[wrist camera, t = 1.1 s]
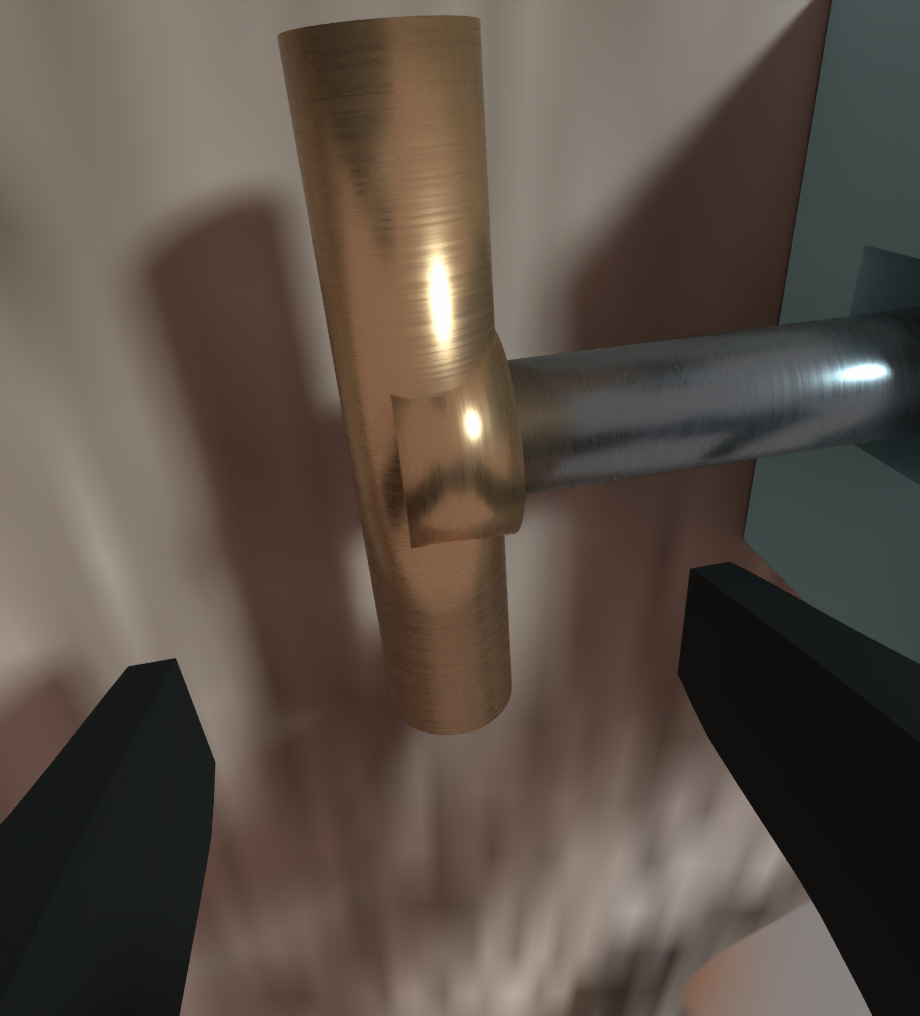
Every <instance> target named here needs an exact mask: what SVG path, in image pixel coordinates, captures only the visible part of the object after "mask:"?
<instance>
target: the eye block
mask: <svg viewBox="0 0 920 1016" xmlns="http://www.w3.org/2000/svg"><path fill="white" fill-rule="evenodd" d="M913 307H920V0H832V4H831V10H830V16H829V23H828V29H827V35H826V41H825V47H824V53H823V59H822V65H821V71H820V77H819V83H818V89H817V95H816V101H815V108H814V114H813V120H812V126H811V132H810V138H809V144H808V150H807V156H806V162H805V168H804V174H803V180H802V186H801V193H800V199H799V205H798V211H797V217H796V223H795V229H794V235H793V241H792V247H791V253H790V259H789V265H788V271H787V278H786V284H785V290H784V296H783V302H782V308H781V314H780V320H779V325H783V324H790V323H798V322H806V321H813V320H821V319H829V318H836V317H844V316H852V315H860V314H867V313H875V312H883V311H890V310H898V309H906V308H913ZM744 540H745V542H746V543H747V544H748V545H749V546H750V547H751V548H752V549H753V550H754V551H755V552H756V553H757V554H758V555H759V556H760V557H761V558H762V559H763V560H764V561H765V562H766V563H767V564H768V565H769V566H770V567H771V568H772V569H773V570H774V571H775V572H776V573H777V574H778V575H779V576H780V577H781V578H782V579H783V580H784V581H785V582H786V583H787V584H788V585H789V586H790V587H791V588H792V589H793V590H794V591H795V592H796V593H797V594H798V595H799V596H800V597H801V598H802V599H803V600H804V601H805V602H806V603H807V604H809V605H811V606H813V607H815V608H816V609H818V610H820V611H822V612H824V613H825V614H827V615H829V616H831V617H833V618H834V619H836V620H838V621H840V622H842V623H844V624H845V625H847V626H849V627H851V628H853V629H855V630H856V631H858V632H860V633H862V634H864V635H866V636H868V637H869V638H871V639H873V640H875V641H877V642H879V643H881V644H883V645H884V646H886V647H888V648H890V649H892V650H894V651H896V652H898V653H900V654H902V655H904V656H906V657H908V658H910V659H912V660H914V661H915V662H917V663H919V664H920V434H915V435H909V436H902V437H896V438H889V439H883V440H876V441H870V442H863V443H857V444H850V445H844V446H837V447H831V448H824V449H817V450H811V451H804V452H798V453H791V454H785V455H778V456H772V457H765V458H759V459H757V460H756V466H755V472H754V478H753V484H752V490H751V496H750V502H749V508H748V514H747V520H746V526H745V532H744Z"/></svg>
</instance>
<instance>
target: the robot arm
mask: <svg viewBox="0 0 920 1016" xmlns="http://www.w3.org/2000/svg"><path fill="white" fill-rule="evenodd" d="M678 676H679V678H680V680H681V682H682V684H683V686H684V689H685V691H686V693H687V695H688V697H689V700H690V702H691V704H692V706H693V708H694V710H695V712H696V714H697V716H698V718H699V720H700V722H701V724H702V726H703V728H704V730H705V733H706V735H707V736H708V738H709V740H710V741H711V743H712V744H713V746H714V748H715V749H716V751H717V753H718V754H719V756H720V757H721V759H722V760H723V762H724V764H725V765H726V767H727V768H728V770H729V771H730V773H731V775H732V776H733V778H734V779H735V781H736V782H737V784H738V786H739V787H740V789H741V790H742V792H743V793H744V795H745V796H746V798H747V800H748V801H749V803H750V804H751V806H752V807H753V809H754V810H755V812H756V813H757V815H758V817H759V818H760V820H761V821H762V823H763V824H764V826H765V827H766V829H767V830H768V832H769V834H770V835H771V837H772V838H773V840H774V841H775V843H776V844H777V846H778V848H779V849H780V851H781V852H782V854H783V855H784V857H785V858H786V860H787V861H788V863H789V865H790V866H791V868H792V869H793V871H794V872H795V874H796V875H797V877H798V878H799V880H800V882H801V883H802V885H803V887H804V889H805V890H806V892H807V894H808V895H809V897H810V899H811V900H812V902H813V904H814V905H815V907H816V909H817V910H818V912H819V914H820V916H821V918H822V919H823V921H824V923H825V925H826V927H827V929H828V931H829V932H830V935H831V937H832V938H833V940H834V942H835V944H836V946H837V948H838V950H839V952H840V954H841V956H842V958H843V959H844V961H845V963H846V965H847V967H848V969H849V971H850V973H851V975H852V977H853V978H854V980H855V982H856V984H857V986H858V988H859V990H860V991H861V994H862V996H863V998H864V1000H865V1002H866V1004H867V1006H868V1008H869V1010H870V1012H871V1014H872V1016H920V664H919V663H917V662H915V661H914V660H912V659H910V658H908V657H906V656H904V655H902V654H900V653H898V652H896V651H894V650H892V649H890V648H888V647H886V646H884V645H883V644H881V643H879V642H877V641H875V640H873V639H871V638H869V637H868V636H866V635H864V634H862V633H860V632H858V631H856V630H855V629H853V628H851V627H849V626H847V625H845V624H844V623H842V622H840V621H838V620H836V619H834V618H833V617H831V616H829V615H827V614H825V613H824V612H822V611H820V610H818V609H816V608H815V607H813V606H811V605H809V604H807V603H806V602H804V601H802V600H800V599H798V598H797V597H795V596H793V595H791V594H790V593H788V592H786V591H784V590H782V589H781V588H779V587H777V586H775V585H773V584H771V583H770V582H768V581H766V580H764V579H762V578H761V577H759V576H757V575H755V574H753V573H751V572H749V571H747V570H745V569H743V568H741V567H739V566H737V565H735V564H733V563H731V562H726V563H720V564H715V565H709V566H703V567H697V568H692V569H690V575H689V583H688V591H687V600H686V608H685V617H684V625H683V633H682V642H681V650H680V658H679V667H678ZM214 783H215V760H214V758H213V755H212V752H211V750H210V747H209V744H208V742H207V739H206V736H205V734H204V731H203V729H202V726H201V723H200V721H199V718H198V715H197V713H196V710H195V707H194V705H193V702H192V699H191V697H190V694H189V692H188V689H187V686H186V684H185V681H184V678H183V676H182V673H181V670H180V668H179V665H178V663H177V660H176V658H174V659H168V660H163V661H157V662H151V663H145V664H140V665H134V666H128V667H127V669H126V670H125V671H124V672H123V673H122V675H121V676H120V677H119V678H118V680H117V681H116V682H115V683H114V685H113V686H112V687H111V688H110V690H109V691H108V692H107V693H106V695H105V696H104V697H103V698H102V700H101V701H100V702H99V703H98V705H97V706H96V707H95V709H94V710H93V711H92V712H91V714H90V715H89V716H88V717H87V719H86V720H85V721H84V723H83V724H82V725H81V726H80V728H79V729H78V730H77V731H76V733H75V734H74V735H73V737H72V738H71V739H70V740H69V742H68V743H67V744H66V745H65V747H64V748H63V749H62V750H61V752H60V753H59V754H58V756H57V757H56V758H55V759H54V761H53V762H52V763H51V764H50V765H49V767H48V768H47V769H46V770H45V772H44V773H43V774H42V775H41V777H40V778H39V779H38V780H37V781H36V783H35V784H34V785H33V786H32V788H31V789H30V790H29V791H28V792H27V794H26V795H25V796H24V797H23V799H22V800H21V801H20V802H19V803H18V805H17V806H16V807H15V808H14V810H13V811H12V812H11V813H10V814H9V816H8V817H7V818H6V819H5V820H4V821H3V822H2V824H1V825H0V1016H179V1015H180V1010H181V1004H182V999H183V993H184V988H185V982H186V977H187V971H188V966H189V960H190V955H191V949H192V944H193V938H194V933H195V927H196V922H197V916H198V911H199V905H200V900H201V894H202V888H203V883H204V877H205V871H206V866H207V860H208V854H209V848H210V842H211V834H212V819H213V804H214Z"/></svg>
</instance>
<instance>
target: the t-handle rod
mask: <svg viewBox="0 0 920 1016" xmlns="http://www.w3.org/2000/svg"><path fill="white" fill-rule="evenodd" d="M277 38H278V44H279V50H280V55H281V61H282V67H283V73H284V79H285V84H286V90H287V96H288V102H289V107H290V113H291V119H292V125H293V131H294V136H295V142H296V148H297V154H298V160H299V165H300V171H301V177H302V183H303V189H304V194H305V200H306V206H307V212H308V218H309V223H310V229H311V235H312V241H313V247H314V252H315V258H316V264H317V270H318V276H319V281H320V287H321V293H322V299H323V304H324V310H325V316H326V322H327V328H328V333H329V339H330V345H331V351H332V357H333V362H334V368H335V374H336V380H337V386H338V391H339V397H340V403H341V409H342V415H343V420H344V426H345V432H346V438H347V444H348V449H349V455H350V461H351V467H352V473H353V478H354V484H355V490H356V496H357V502H358V507H359V513H360V519H361V525H362V530H363V536H364V542H365V548H366V554H367V559H368V565H369V571H370V577H371V583H372V588H373V594H374V600H375V606H376V612H377V617H378V623H379V629H380V635H381V641H382V646H383V652H384V658H385V664H386V670H387V675H388V681H389V687H390V693H391V698H392V703H393V706H394V708H395V710H396V712H397V713H398V715H399V716H400V717H401V718H402V719H403V720H404V721H405V722H406V723H408V724H409V725H411V726H412V727H414V728H416V729H418V730H421V731H424V732H427V733H431V734H437V735H455V734H462V733H466V732H470V731H473V730H476V729H479V728H481V727H483V726H485V725H486V724H488V723H490V722H491V721H492V720H494V719H495V718H496V717H497V716H498V715H499V714H500V713H501V712H502V711H503V710H504V708H505V707H506V705H507V703H508V701H509V699H510V696H511V690H512V682H511V661H510V639H509V618H508V597H507V576H506V555H505V535H508V534H515V533H517V532H518V531H519V529H520V527H521V523H522V519H523V513H524V501H525V494H530V493H537V492H543V491H550V490H556V489H563V488H569V487H576V486H582V485H589V484H595V483H602V482H608V481H615V480H622V479H628V478H635V477H641V476H648V475H654V474H661V473H667V472H674V471H680V470H687V469H693V468H700V467H706V466H713V465H719V464H726V463H733V462H739V461H746V460H752V459H759V458H765V457H772V456H778V455H785V454H791V453H798V452H804V451H811V450H817V449H824V448H831V447H837V446H844V445H850V444H857V443H863V442H870V441H876V440H883V439H889V438H896V437H902V436H909V435H915V434H920V307H913V308H906V309H898V310H890V311H883V312H875V313H867V314H860V315H852V316H844V317H836V318H829V319H821V320H813V321H806V322H798V323H790V324H783V325H775V326H767V327H760V328H752V329H744V330H736V331H729V332H721V333H713V334H706V335H698V336H690V337H683V338H675V339H667V340H660V341H652V342H644V343H636V344H629V345H621V346H613V347H606V348H598V349H590V350H583V351H575V352H567V353H560V354H552V355H544V356H536V357H529V358H521V359H513V360H507V358H506V355H505V352H504V349H503V346H502V343H501V341H500V338H499V336H498V334H497V332H496V331H495V323H494V302H493V281H492V260H491V239H490V218H489V197H488V176H487V155H486V134H485V113H484V91H483V70H482V49H481V28H480V19H479V18H476V17H470V16H447V15H440V16H408V17H391V18H378V19H366V20H356V21H346V22H338V23H330V24H322V25H316V26H309V27H304V28H298V29H294V30H289V31H286V32H283V33H280V34H279V35H277Z"/></svg>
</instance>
